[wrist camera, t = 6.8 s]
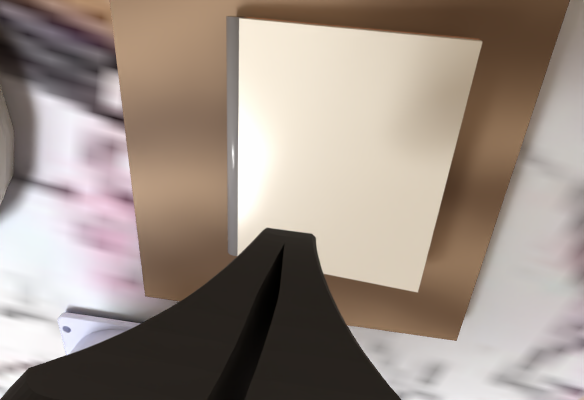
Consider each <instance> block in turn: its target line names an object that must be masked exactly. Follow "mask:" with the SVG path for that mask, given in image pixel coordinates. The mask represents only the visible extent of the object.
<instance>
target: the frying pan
mask: <svg viewBox="0 0 584 400" xmlns="http://www.w3.org/2000/svg"><path fill="white" fill-rule="evenodd" d="M13 164H14V129H13V126H12V122H11V119H10V115H9V112H8V109H7V105H6V102H5V98H4V95H3V92H2V88H1V85H0V205H1V202H2V200H3V198H4V196H5V192H6V190H7V188H8V185H9V183H10V181H11V179H12V176H13Z"/></svg>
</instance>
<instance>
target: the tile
mask: <svg viewBox="0 0 584 400" xmlns="http://www.w3.org/2000/svg"><path fill="white" fill-rule="evenodd" d="M481 46H482V41H481V40H480V39H478V38H467V37H456V36H446V35H435V34H425V33H414V32H404V31H393V30H382V29H372V28H361V27H351V26H340V25H330V24H319V23H308V22H298V21H287V20H277V19H266V18H256V17H244V16H226V61H227V234H228V253H229V254H230V255H233V256H238V255H239V254H240V253H241V252H242V251H243V250H244V249H245V248H246V247H247V246H248V245H249V244H250V243H251V242H252V241H253V240H254V239H255V238H256V237H257V236H258V235H259V234H260V233H261V232H262V231H263V230H264V229H265V228H273V229H281V230H288V231H296V232H303V233H311V234H313V235H314V236H315V237H316V247H317V253H318V257H319V261H320V264H321V268H322V271H323V274H328V275H333V276H338V277H343V278H348V279H353V280H358V281H363V282H368V283H373V284H378V285H383V286H388V287H393V288H398V289H403V290H408V291H413V292H418V290H419V286H420V282H421V279H422V275H423V271H424V267H425V263H426V259H427V255H428V251H429V248H430V244H431V240H432V236H433V232H434V228H435V224H436V220H437V216H438V213H439V209H440V205H441V201H442V197H443V193H444V189H445V185H446V181H447V178H448V174H449V170H450V166H451V162H452V158H453V154H454V150H455V147H456V143H457V139H458V135H459V131H460V127H461V123H462V119H463V115H464V112H465V108H466V104H467V100H468V96H469V92H470V88H471V84H472V80H473V77H474V73H475V69H476V65H477V61H478V57H479V53H480V49H481Z"/></svg>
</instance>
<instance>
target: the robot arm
mask: <svg viewBox="0 0 584 400" xmlns="http://www.w3.org/2000/svg"><path fill="white" fill-rule="evenodd" d="M58 324H59V328H60V332H61V336H62V340H63V344H64V348H65V352H66V356H63V357H60V358H57V359H54V360H51V361H49V362H46V363H43V364H40V365H37V366H34V367H31V368H28V369H27V371H26V372H25V373H24V374H23V375H22V376H21V377H20V378H19V379H18V380H17V381H16V382H15V383H14V384H13V385H12V386H11V387H10V388H9V390H8V391H7V392H6V393H5V394H4V396H3V397H2V398H1V399H0V400H401V399H400V397H399V396H398V395H397V394H396V393H395V392H394V391H393V389H392V388H391V387H390V386H389V385H388V384H387V382H386V381H385V380H384V378H383V377H382V376H381V374H380V373H379V372H378V370H377V369H376V368H375V366H374V365H373V364H372V362H371V361H370V360H369V358H368V357H367V356H366V355H365V353H364V352H363V350H362V349H361V347H360V346H359V344H358V342H357V341H356V339H355V338H354V336H353V335H352V333H351V331H350V330H349V328H348V326H347V324H346V323H345V321H344V319H343V317H342V315H341V313H340V311H339V309H338V307H337V305H336V303H335V301H334V299H333V297H332V294H331V292H330V290H329V287H328V285H327V282H326V279H325V276H324V274H323V271H322V268H321V264H320V261H319V257H318V253H317V247H316V237H315V236H314V235H313V234H311V233H303V232H296V231H288V230H281V229H273V228H265V229H264V230H263V231H262V232H261V233H260V234H259V235H258V236H257V237H256V238H255V239H254V240H253V241H252V242H251V243H250V244H249V245H248V246H247V247H246V248H245V249H244V250H243V251H242V252H241V253H240V254H239V255H238V256H237V257H236V258H235V259H234V260H233V261H232V262H231V263H229V264H228V265H227V266H226V267H225V268H224V269H223V270H221V271H220V272H219V273H218V274H217V275H215V276H214V277H213V278H212V279H210V280H209V281H208V282H207V283H205V284H204V285H203V286H202V287H200V288H199V289H197V290H196V291H195V292H193V293H192V294H190V295H189V296H188V297H186V298H185V299H183V300H181V301H180V302H178V303H177V304H175V305H174V306H172V307H171V308H169V309H167V310H165V311H163V312H162V313H160V314H158V315H156V316H154V317H152V318H150V319H149V320H147V321H145V322H143V323H135V322H128V321H121V320H115V319H108V318H101V317H94V316H88V315H81V314H74V313H67V312H66V313H62V314H61V315H60V316H59V318H58Z"/></svg>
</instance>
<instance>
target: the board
mask: <svg viewBox="0 0 584 400" xmlns="http://www.w3.org/2000/svg"><path fill="white" fill-rule="evenodd" d="M569 1H570V0H110V9H111V17H112V25H113V33H114V42H115V50H116V58H117V67H118V75H119V83H120V91H121V100H122V108H123V116H124V124H125V133H126V141H127V149H128V158H129V166H130V174H131V182H132V191H133V199H134V207H135V216H136V224H137V232H138V240H139V249H140V257H141V265H142V274H143V282H144V290H145V296H147V297H154V298H161V299H168V300H175V301H181V300H183V299H185V298H186V297H188V296H189V295H190V294H192V293H193V292H195V291H196V290H197V289H199V288H200V287H202V286H203V285H204V284H205V283H207V282H208V281H209V280H210V279H212V278H213V277H214V276H215V275H217V274H218V273H219V272H220V271H221V270H223V269H224V268H225V267H226V266H227V265H228V264H229V263H231V262H232V261H233V260H234V259H235V258H236V257H237V256H233V255H230V254H229V253H228V234H227V61H226V16H244V17H256V18H266V19H277V20H287V21H298V22H308V23H319V24H330V25H340V26H351V27H361V28H372V29H382V30H393V31H404V32H414V33H425V34H435V35H446V36H456V37H467V38H478V39H480V40H481V41H482V46H481V49H480V53H479V57H478V61H477V65H476V69H475V73H474V77H473V80H472V84H471V88H470V92H469V96H468V100H467V104H466V108H465V112H464V115H463V119H462V123H461V127H460V131H459V135H458V139H457V143H456V147H455V150H454V154H453V158H452V162H451V166H450V170H449V174H448V178H447V181H446V185H445V189H444V193H443V197H442V201H441V205H440V209H439V213H438V216H437V220H436V224H435V228H434V232H433V236H432V240H431V244H430V248H429V251H428V255H427V259H426V263H425V267H424V271H423V275H422V279H421V282H420V286H419V290H418V292H413V291H408V290H403V289H398V288H393V287H388V286H383V285H378V284H373V283H368V282H363V281H358V280H353V279H348V278H343V277H338V276H333V275H328V274H324V276H325V279H326V282H327V285H328V287H329V290H330V292H331V294H332V297H333V299H334V301H335V303H336V305H337V307H338V309H339V311H340V313H341V315H342V317H343V319H344V321H345V323H346V324H347V325H350V326H357V327H364V328H371V329H378V330H385V331H392V332H399V333H406V334H413V335H420V336H427V337H433V338H440V339H447V340H454V341H457V338H458V335H459V332H460V329H461V326H462V323H463V320H464V317H465V314H466V311H467V308H468V305H469V302H470V299H471V296H472V293H473V290H474V287H475V284H476V281H477V278H478V275H479V272H480V269H481V266H482V263H483V260H484V257H485V254H486V251H487V248H488V245H489V242H490V239H491V236H492V233H493V230H494V227H495V224H496V221H497V218H498V215H499V212H500V209H501V206H502V203H503V200H504V197H505V194H506V191H507V188H508V185H509V182H510V179H511V176H512V173H513V170H514V167H515V164H516V161H517V158H518V155H519V152H520V149H521V146H522V143H523V140H524V137H525V134H526V131H527V128H528V125H529V122H530V119H531V116H532V113H533V110H534V107H535V104H536V101H537V98H538V95H539V92H540V89H541V86H542V83H543V80H544V77H545V73H546V70H547V67H548V64H549V61H550V58H551V55H552V52H553V49H554V46H555V43H556V40H557V37H558V34H559V31H560V28H561V25H562V22H563V19H564V16H565V13H566V10H567V7H568V4H569Z"/></svg>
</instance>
